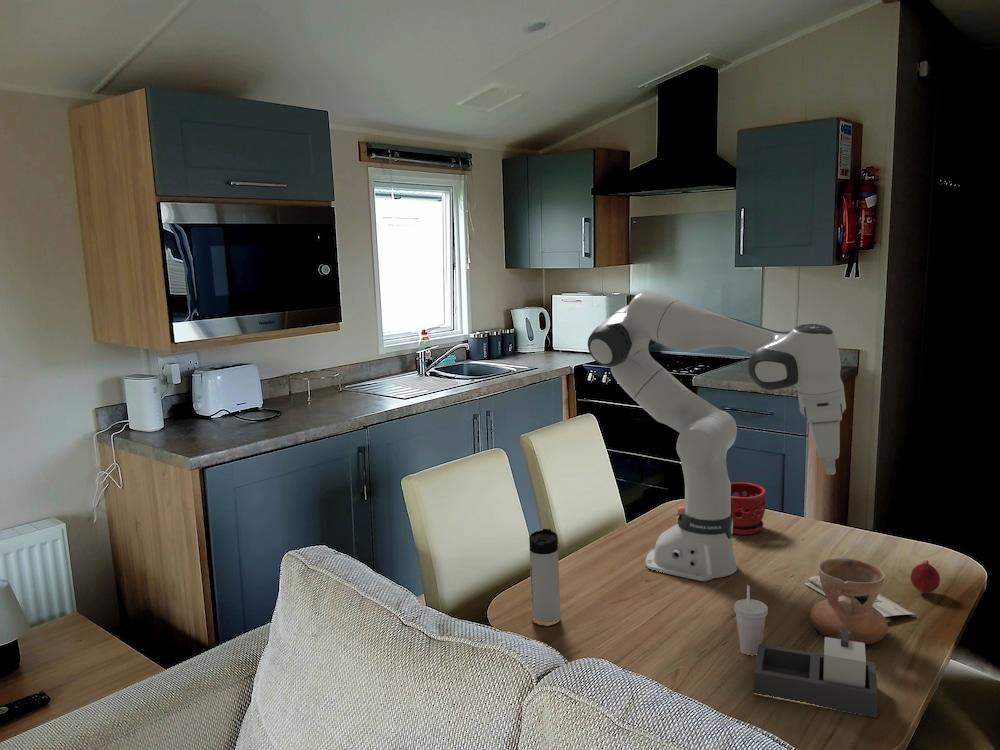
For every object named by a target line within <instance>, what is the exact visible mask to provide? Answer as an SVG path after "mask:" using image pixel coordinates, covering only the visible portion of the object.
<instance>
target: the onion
mask: <svg viewBox="0 0 1000 750" xmlns="http://www.w3.org/2000/svg"><path fill="white" fill-rule="evenodd" d="M910 581H911V584H912V585H913V586H914V588H915V589H916V590H917V591H919V592H920V593H921V594H924V595H927V594H929V593H932V592H934V591H936V589H938V588H939V586H940V583H941V582H940V581H941V577H940V574H939V572H938V570H937V569H936V568H935V567H934V566H932V565H931V564H930V563H929V560H927V559H923V561H922V563H919V564H917V565H916V566H914V568H913V569H912V571H911V573H910Z"/></svg>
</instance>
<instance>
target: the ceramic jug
mask: <svg viewBox="0 0 1000 750" xmlns="http://www.w3.org/2000/svg"><path fill="white" fill-rule="evenodd" d="M817 569H818V576H819V577H820V581H821V585H822V588H823V591H824V593H825V595H826V596H825V595H824V596H825V598H826V599H823V600H821V601H819V602H817V603H815V605H814V606H813V607H812V609H811V611H810V616H809V617H810V621H811V623H812V625H813V626H814V628H815V629H816V630H817V632H818V633H820V634H821V635H823V636H824V637H829V638H835V639H841V629H842V630H848V641H855V642H861V643H865V645H871V644H875V643H877V642H879V641H881V640H882V639H884V637H885V636H886V635H887V633H888V630H889V624H888V622H887V621H886V619H885V617H884V616H883V615H882V614H881V613H880V612H879V611H878V610H876V609H875V608H874V607H872V605H873V603H874V602H875V600H876V598H877V596H878V594H880V592H881V589H882V588H883V585H884V582H885V573H884V572H883V570H881V569H880V568H879V567H877V566H875V565H874V564H872V563H870V562H868V561H862V560H860V559H856V558H847V557H846V558H845V557H844V558H842V557H834V558H828V559H826V560H822V561H821V562H820V563H818V568H817Z"/></svg>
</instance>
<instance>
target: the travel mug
mask: <svg viewBox="0 0 1000 750" xmlns="http://www.w3.org/2000/svg"><path fill="white" fill-rule="evenodd" d="M528 539H529V541H528V543H529V567H530V568H529V569H530V574H529V575H530V596H531V616H532V617H533V618H534V619H536V620H538V621H542V622H553V621H557V620H558V619H559V618H560V619H561V598H560V597H561V595H560V592H561V591H560V566H559V565H560V563H559V546H558V544H559V543H558V542H559V541H558V539H559V538H558V534H557V533H556V532H555V531H553V530H552V529H551V528H543V529H542V530H537V531H534V532H532V533H531V534H530V535H529V537H528ZM532 617H531V618H532Z"/></svg>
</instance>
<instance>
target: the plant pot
mask: <svg viewBox="0 0 1000 750" xmlns="http://www.w3.org/2000/svg"><path fill="white" fill-rule="evenodd" d="M744 492H745V493H746V495H744V494H743V493H744ZM735 493H736V494H738V495H739V496H734V495H733V494H735ZM766 493H767V492H766V489H765V487H763V486H761V485H758V484H755V483H751V482H737V481H736V482H731V513H732V515H733V534H735V535H743V536H744V535H754V534H757V533H759V532H760V531H762V529H763V528H764V522H763V521H762V520H763V518H764V515H765V512H766V505H767V494H766Z"/></svg>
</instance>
